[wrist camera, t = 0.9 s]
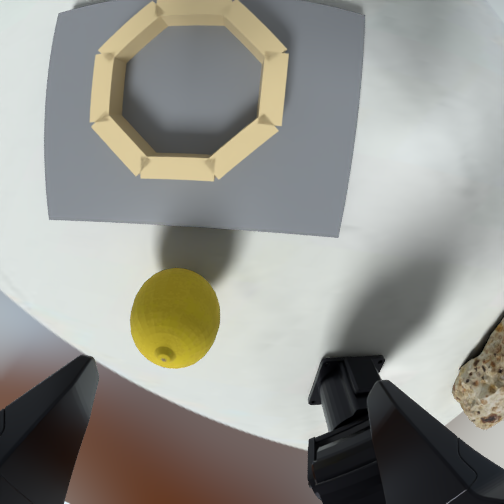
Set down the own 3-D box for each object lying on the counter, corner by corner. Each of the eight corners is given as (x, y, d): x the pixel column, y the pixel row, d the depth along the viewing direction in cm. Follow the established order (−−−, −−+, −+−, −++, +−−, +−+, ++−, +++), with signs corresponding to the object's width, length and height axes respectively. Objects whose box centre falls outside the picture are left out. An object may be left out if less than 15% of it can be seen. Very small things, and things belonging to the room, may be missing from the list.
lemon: (134, 277, 21) (95, 347, 14) (188, 234, 20) (161, 298, 13) (183, 325, 23) (167, 403, 16) (238, 290, 22) (238, 368, 15)
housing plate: (331, 229, 21) (348, 250, 17) (59, 213, 19) (34, 229, 16) (356, 21, 15) (377, 6, 11) (68, 18, 13) (43, 6, 10)
